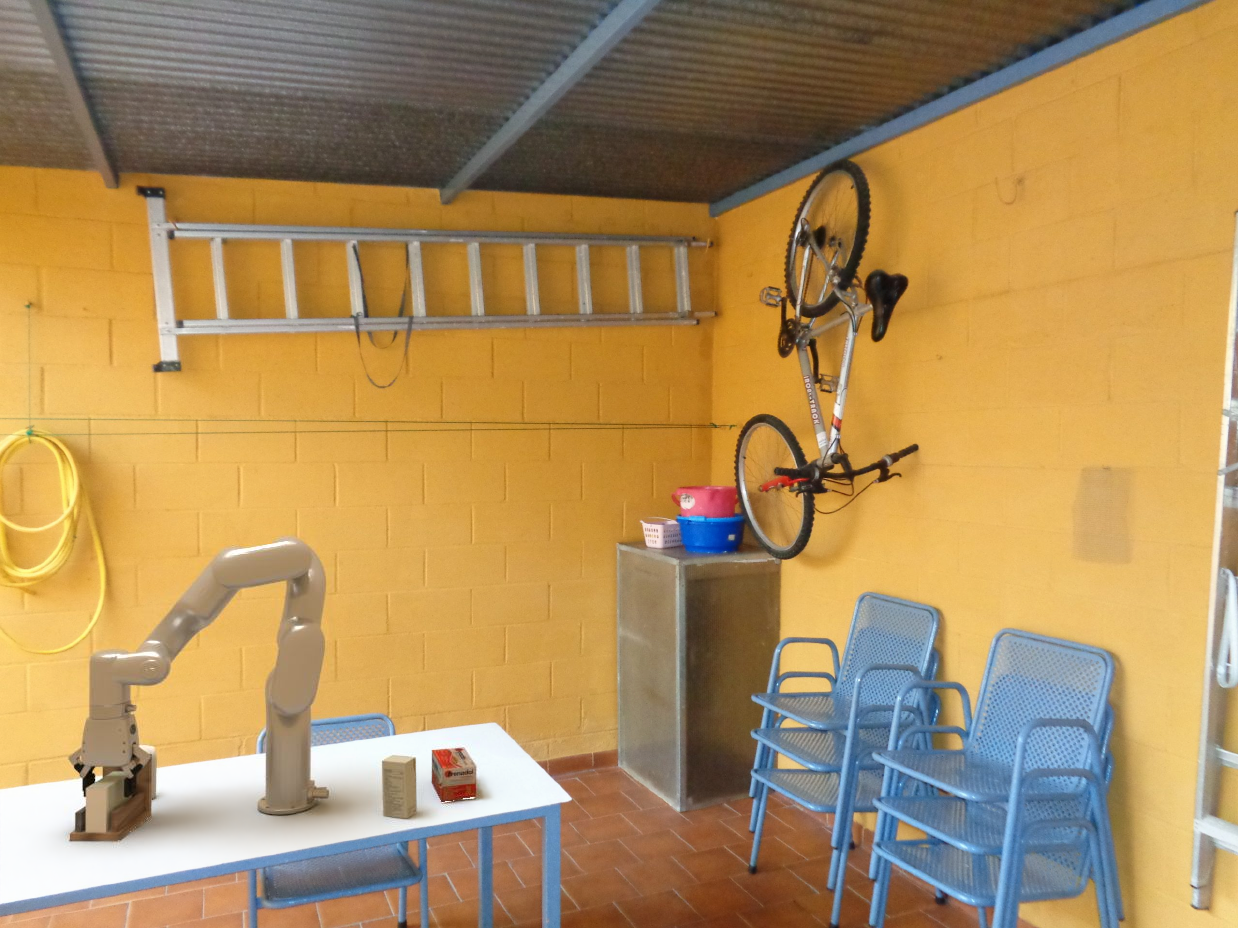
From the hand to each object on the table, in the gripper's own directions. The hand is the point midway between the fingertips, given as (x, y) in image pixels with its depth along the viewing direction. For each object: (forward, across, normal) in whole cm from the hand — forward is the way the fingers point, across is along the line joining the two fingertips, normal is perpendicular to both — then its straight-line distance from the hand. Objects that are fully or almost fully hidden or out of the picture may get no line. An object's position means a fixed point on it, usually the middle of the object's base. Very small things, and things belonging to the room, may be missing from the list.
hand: (109, 794), depth 192 cm
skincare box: (+8, -58, -10) cm, 59 cm away
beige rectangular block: (+6, 0, 0) cm, 6 cm away
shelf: (+7, 0, -1) cm, 7 cm away
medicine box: (+8, -67, -24) cm, 72 cm away
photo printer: (+8, +4, -16) cm, 19 cm away
